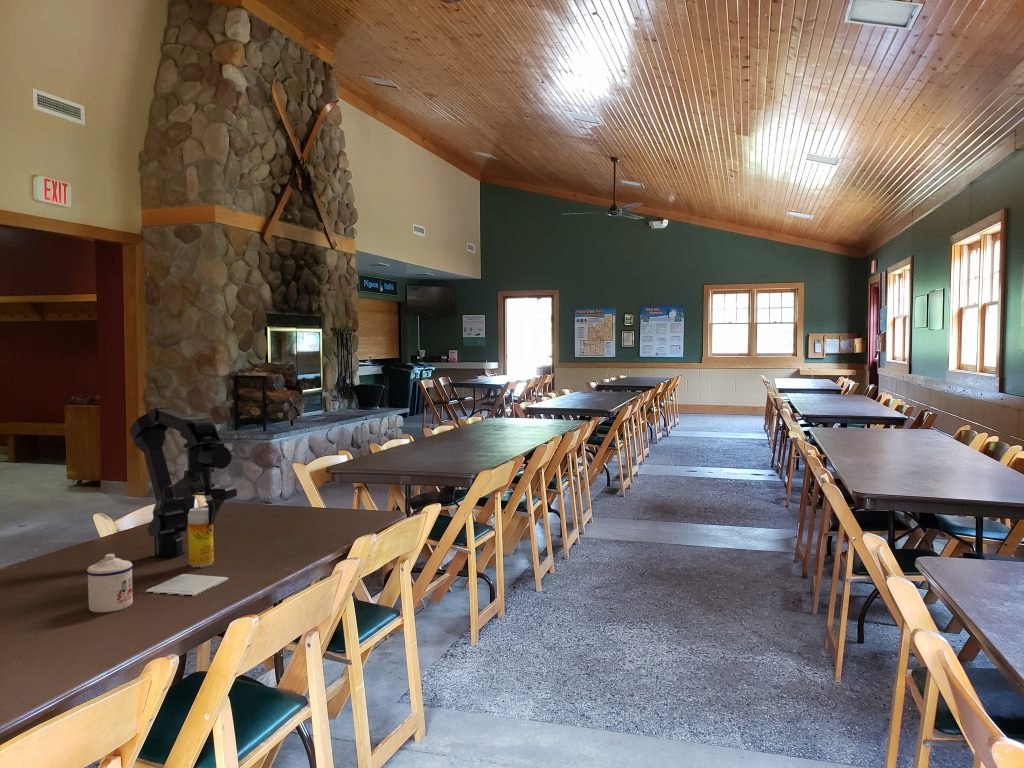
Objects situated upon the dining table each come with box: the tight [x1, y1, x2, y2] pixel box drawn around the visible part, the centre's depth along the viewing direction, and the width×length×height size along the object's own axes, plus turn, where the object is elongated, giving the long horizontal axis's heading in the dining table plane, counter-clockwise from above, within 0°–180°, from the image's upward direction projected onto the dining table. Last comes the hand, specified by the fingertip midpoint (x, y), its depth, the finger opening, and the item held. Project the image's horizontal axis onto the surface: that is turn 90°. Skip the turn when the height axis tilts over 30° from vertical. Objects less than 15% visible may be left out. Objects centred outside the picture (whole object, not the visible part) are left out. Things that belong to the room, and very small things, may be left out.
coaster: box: [145, 573, 229, 597], centre depth 177 cm, size 13×13×1 cm
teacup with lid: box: [86, 553, 134, 614], centre depth 164 cm, size 12×9×12 cm
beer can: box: [187, 506, 215, 568], centre depth 194 cm, size 6×6×15 cm
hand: (200, 523), depth 194 cm, fingers closed on beer can, 6 cm apart
